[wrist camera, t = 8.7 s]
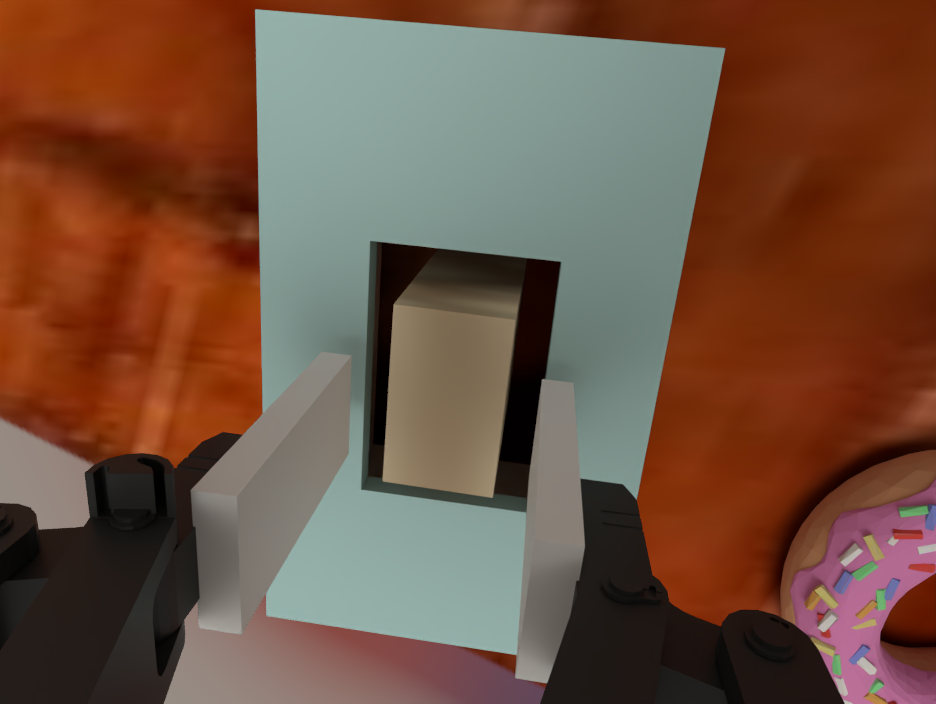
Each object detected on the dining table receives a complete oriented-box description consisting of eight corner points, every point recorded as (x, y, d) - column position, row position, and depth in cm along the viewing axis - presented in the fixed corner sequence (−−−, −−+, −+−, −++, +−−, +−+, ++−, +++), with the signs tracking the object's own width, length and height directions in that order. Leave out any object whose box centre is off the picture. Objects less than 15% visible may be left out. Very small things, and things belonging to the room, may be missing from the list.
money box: (657, 71, 26) (725, 48, 16) (587, 488, 32) (603, 668, 22) (369, 46, 27) (255, 9, 16) (356, 456, 33) (266, 615, 23)
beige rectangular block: (526, 258, 23) (515, 320, 17) (509, 394, 25) (492, 498, 18) (439, 247, 23) (393, 304, 17) (427, 382, 25) (382, 481, 19)
